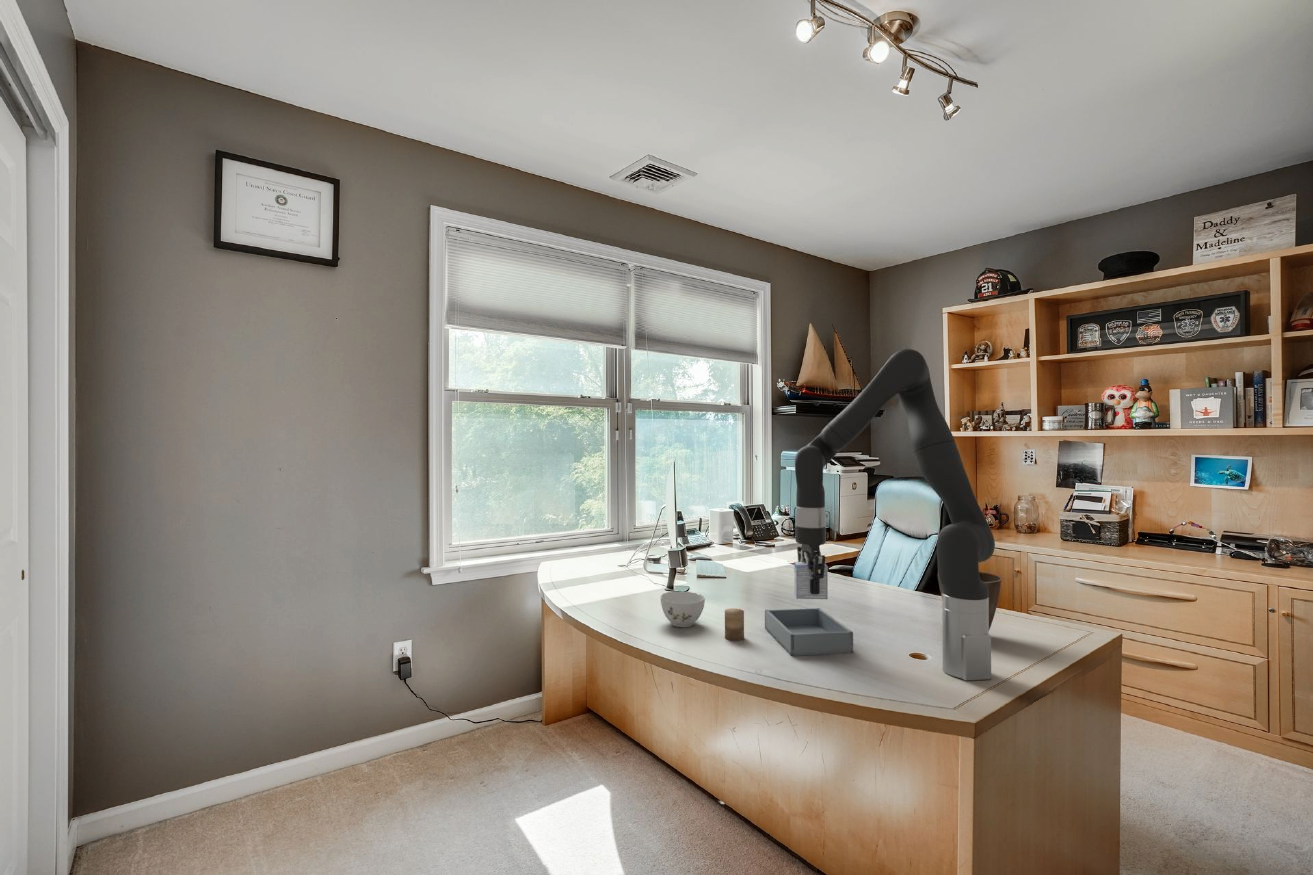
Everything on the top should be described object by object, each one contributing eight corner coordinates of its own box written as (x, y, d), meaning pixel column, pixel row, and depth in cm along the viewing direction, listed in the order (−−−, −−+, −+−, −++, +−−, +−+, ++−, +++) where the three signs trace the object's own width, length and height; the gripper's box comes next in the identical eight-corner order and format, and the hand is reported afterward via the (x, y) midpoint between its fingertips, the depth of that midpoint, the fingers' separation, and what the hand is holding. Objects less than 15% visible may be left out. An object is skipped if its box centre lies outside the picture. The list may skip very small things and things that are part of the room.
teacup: (694, 634, 166) (694, 604, 166) (652, 628, 171) (652, 599, 171) (714, 619, 179) (714, 591, 179) (675, 614, 185) (674, 587, 185)
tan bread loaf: (746, 640, 160) (746, 613, 160) (727, 641, 160) (727, 614, 160) (741, 634, 165) (741, 608, 165) (722, 635, 165) (722, 608, 165)
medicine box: (825, 595, 159) (824, 561, 159) (828, 600, 155) (827, 565, 155) (793, 595, 160) (793, 561, 160) (795, 599, 156) (795, 565, 156)
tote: (853, 652, 151) (853, 632, 151) (790, 655, 149) (790, 634, 149) (819, 626, 172) (819, 608, 172) (764, 628, 170) (764, 610, 170)
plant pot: (928, 637, 162) (928, 575, 162) (949, 624, 173) (949, 567, 173) (991, 650, 152) (990, 585, 152) (1009, 636, 162) (1009, 575, 162)
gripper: (836, 528, 151) (836, 598, 151) (814, 520, 165) (814, 584, 165) (806, 528, 150) (806, 599, 150) (787, 520, 164) (787, 585, 164)
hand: (810, 591), depth 158 cm, fingers closed on medicine box, 5 cm apart
